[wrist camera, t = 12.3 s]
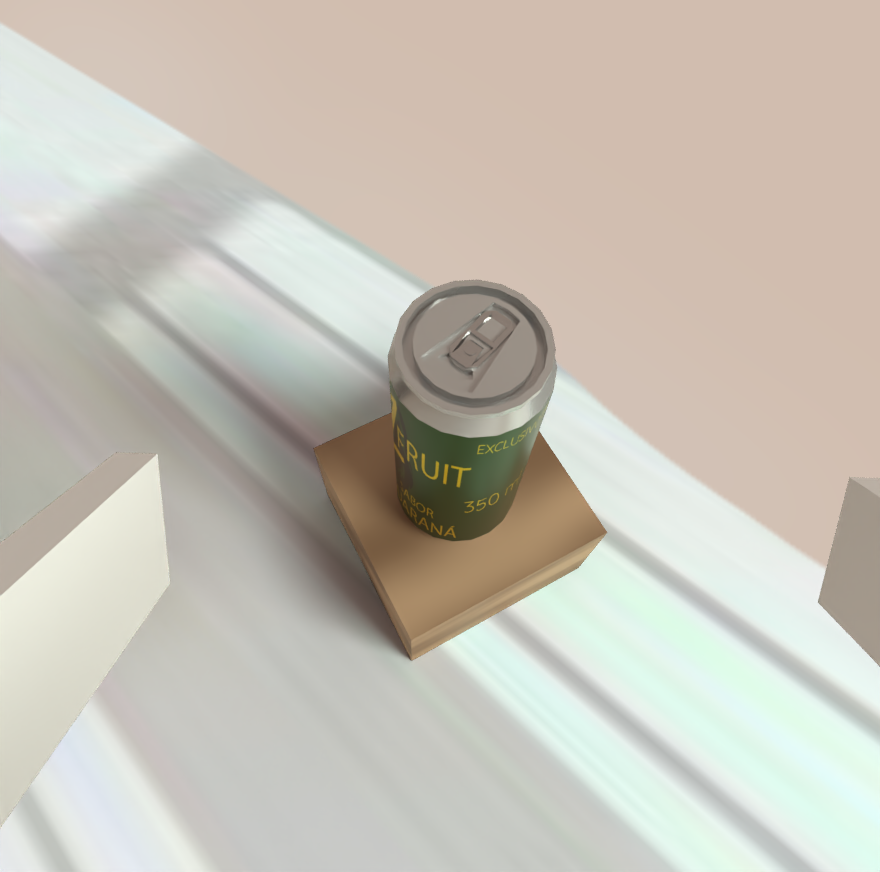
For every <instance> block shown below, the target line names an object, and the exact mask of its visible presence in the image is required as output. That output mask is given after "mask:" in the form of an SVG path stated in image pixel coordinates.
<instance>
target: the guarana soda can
mask: <svg viewBox="0 0 880 872" xmlns="http://www.w3.org/2000/svg"><path fill="white" fill-rule="evenodd" d="M555 351H556V349H555V344H554V339H553V334H552V329H551V327H550V325H549V324H548V322H547V320H546V319H545V317H544V315H543V314H542V312H541V310H539V308H537V307H536V306H535V305H534V304H533V303H532V302H531V301H530V300H528V299H527V298H526V297H525V296H524V295H523V294H520V293H518V292H516V291H514V290H512V289H510V288H508V287H506V286H504V285H501V284H497V283H492V282H487V281H482V280H465V281H453V282H450V283H447V284H444V285H441V286H438V287H435V288H432V289H430V290H429V291H427V292H426V293H424V294H423V295H421V296H420V297H419V298H417V299H416V300H414V301H413V302H412V303H411V305H410V306H409V307H408V309H407V310H406V311H405V313H404V314H403V315H402V317H401V318H400V321H399V324H398V327H397V331H396V333H395V334H394V337H393V341H392V344H391V347H390V351H389V354H388V365H389V380H390V394H391V409H392V423H393V438H394V452H395V466H396V481H397V495H398V499H399V502H400V504H401V506H402V509H403V511H404V513H405V515H406V516H407V517H408V518H409V519H410V520H411V521H412V522H413V524H414V525H415V526H416V527H417V528H419V529H420V530H422V531H424V532H426V533H427V534H429V535H431V536H432V537H435V538H439V539H444V540H448V541H464V540H473V539H475V538H477V537H480V536H482V535H485V534H487V533H489V532H491V531H492V530H493V529H494V528H495V527H496V526H497V525H499V524H500V523H501V522H502V521H503V520H504V518H505V516H506V515H507V513H508V511H509V510H510V508H511V506H512V504H513V501H514V498H515V495H516V493H517V490H518V487H519V484H520V481H521V479H522V476H523V473H524V470H525V468H526V465H527V462H528V459H529V456H530V454H531V451H532V448H533V445H534V442H535V440H536V437H537V434H538V431H539V429H540V426H541V423H542V420H543V417H544V415H545V412H546V409H547V406H548V403H549V401H550V398H551V395H552V392H553V389H554V383H555V377H556V371H557V365H556V360H555Z"/></svg>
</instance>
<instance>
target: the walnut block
mask: <svg viewBox="0 0 880 872" xmlns="http://www.w3.org/2000/svg"><path fill="white" fill-rule="evenodd" d="M313 449H314V452H315V455H316V458H317V462H318V465H319V468H320V471H321V474H322V478H323V481H324V484H325V487H326V490H327V494H328V496H329V498H330V500H331V502H332V504H333V506H334V508H335V510H336V512H337V514H338V516H339V518H340V520H341V522H342V524H343V526H344V528H345V530H346V532H347V534H348V536H349V538H350V539H351V541H352V543H353V545H354V547H355V549H356V551H357V553H358V555H359V557H360V559H361V561H362V563H363V565H364V567H365V569H366V571H367V573H368V575H369V577H370V579H371V581H372V583H373V585H374V587H375V589H376V591H377V593H378V595H379V597H380V599H381V601H382V603H383V605H384V607H385V609H386V611H387V613H388V615H389V617H390V619H391V621H392V623H393V625H394V627H395V629H396V631H397V633H398V635H399V637H400V639H401V641H402V643H403V645H404V647H405V649H406V651H407V653H408V655H409V657H410V659H411V660H414V659H416V658H418V657H419V656H421V655H423V654H425V653H427V652H428V651H430V650H432V649H434V648H436V647H437V646H439V645H441V644H443V643H445V642H446V641H448V640H450V639H452V638H454V637H455V636H457V635H459V634H461V633H462V632H464V631H466V630H468V629H470V628H471V627H473V626H475V625H477V624H479V623H480V622H482V621H484V620H486V619H488V618H489V617H491V616H493V615H495V614H497V613H498V612H500V611H502V610H504V609H505V608H507V607H509V606H511V605H513V604H514V603H516V602H518V601H520V600H522V599H523V598H525V597H527V596H529V595H531V594H532V593H534V592H536V591H538V590H540V589H541V588H543V587H545V586H547V585H548V584H550V583H552V582H554V581H556V580H557V579H559V578H561V577H563V576H565V575H566V574H568V573H570V572H572V571H574V570H575V569H577V568H579V566H580V565H581V564H582V563H583V562H584V560H585V559H586V558H587V557H588V555H589V554H590V553H591V552H592V551H593V549H594V548H595V547H596V546H597V544H598V543H599V542H600V541H601V539H602V538H603V537H604V536H605V535H606V533H607V531H606V530H605V528H604V527H603V525H602V524H601V522H600V521H599V519H598V518H597V517H596V515H595V514H594V512H593V511H592V509H591V508H590V506H589V505H588V503H587V502H586V500H585V499H584V497H583V496H582V494H581V493H580V491H579V490H578V488H577V487H576V485H575V484H574V482H573V481H572V479H571V478H570V476H569V475H568V473H567V472H566V470H565V469H564V467H563V466H562V464H561V463H560V461H559V460H558V458H557V457H556V456H555V454H554V453H553V451H552V450H551V448H550V447H549V445H548V444H547V442H546V441H545V439H544V438H543V436H542V435H541V433H540V432H539V431H538V434H537V437H536V440H535V442H534V445H533V448H532V451H531V454H530V456H529V459H528V462H527V465H526V468H525V470H524V473H523V476H522V479H521V481H520V484H519V487H518V490H517V493H516V495H515V498H514V501H513V504H512V506H511V508H510V510H509V511H508V513H507V515H506V516H505V518H504V520H503V521H502V522H501V523H500V524H499V525H497V526H496V527H495V528H494V529H493V530H492V531H491V532H489V533H487V534H485V535H482V536H480V537H477V538H475V539H473V540H464V541H448V540H444V539H439V538H435V537H432V536H431V535H429V534H427V533H426V532H424V531H422V530H420V529H419V528H417V527H416V526H415V525H414V524H413V522H412V521H411V520H410V519H409V518H408V517H407V516H406V515H405V513H404V511H403V509H402V506H401V504H400V502H399V499H398V495H397V481H396V466H395V452H394V438H393V423H392V413H390V414H387V415H385V416H383V417H381V418H379V419H376V420H374V421H372V422H370V423H368V424H365V425H363V426H361V427H359V428H357V429H354V430H352V431H350V432H348V433H346V434H344V435H341V436H339V437H337V438H335V439H333V440H330V441H328V442H326V443H324V444H322V445H319V446H317V447H315V448H313Z"/></svg>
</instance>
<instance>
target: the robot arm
mask: <svg viewBox="0 0 880 872" xmlns="http://www.w3.org/2000/svg"><path fill="white" fill-rule="evenodd" d="M169 584H170V575H169V565H168V555H167V545H166V535H165V526H164V516H163V506H162V496H161V486H160V476H159V466H158V456H157V454H147V453H117V452H116V453H115V454H113V455H112V456H111V457H109V458H108V459H107V460H106V461H104V462H103V463H102V464H101V465H99V466H98V467H97V468H95V469H94V470H93V471H92V472H90V473H89V474H88V475H87V476H85V477H84V478H83V479H81V480H80V481H79V482H78V483H76V484H75V485H74V486H72V487H71V488H70V489H69V490H67V491H66V492H65V493H64V494H62V495H61V496H60V497H58V498H57V499H56V500H55V501H53V502H52V503H51V504H50V505H48V506H47V507H46V508H44V509H43V510H42V511H41V512H39V513H38V514H37V515H35V516H34V517H33V518H32V519H30V520H29V521H28V522H27V523H25V524H24V525H23V526H21V527H20V528H19V529H18V530H16V531H15V532H14V533H13V534H11V535H10V536H9V537H7V538H6V539H5V540H4V541H2V542H1V543H0V828H1V827H2V825H3V824H4V822H5V821H6V819H7V818H8V816H9V815H10V814H11V812H12V811H13V809H14V808H15V806H16V805H17V803H18V802H19V801H20V799H21V798H22V796H23V795H24V793H25V792H26V790H27V789H28V788H29V786H30V785H31V783H32V782H33V780H34V779H35V777H36V776H37V775H38V773H39V772H40V770H41V769H42V767H43V766H44V764H45V763H46V762H47V760H48V759H49V757H50V756H51V754H52V753H53V752H54V750H55V749H56V747H57V746H58V744H59V743H60V741H61V740H62V739H63V737H64V736H65V734H66V733H67V731H68V730H69V728H70V727H71V726H72V724H73V723H74V721H75V720H76V718H77V717H78V715H79V714H80V713H81V711H82V710H83V708H84V707H85V705H86V704H87V702H88V701H89V700H90V698H91V697H92V695H93V694H94V692H95V691H96V689H97V688H98V687H99V685H100V684H101V682H102V681H103V679H104V678H105V676H106V675H107V674H108V672H109V671H110V669H111V668H112V666H113V665H114V664H115V662H116V661H117V659H118V658H119V656H120V655H121V653H122V652H123V651H124V649H125V648H126V646H127V645H128V643H129V642H130V640H131V639H132V638H133V636H134V635H135V633H136V632H137V630H138V629H139V627H140V626H141V625H142V623H143V622H144V620H145V619H146V617H147V616H148V614H149V613H150V612H151V610H152V609H153V607H154V606H155V604H156V603H157V601H158V600H159V599H160V597H161V596H162V594H163V593H164V591H165V590H166V588H167V587H168V586H169ZM818 603H819V604H820V605H821V606H822V607H823V608H824V609H825V610H826V611H827V612H828V613H829V614H830V615H831V616H832V617H833V618H834V620H835V621H836V622H837V623H838V624H839V625H840V626H841V627H842V628H843V629H844V630H845V631H846V632H847V633H848V634H849V635H850V636H851V637H852V638H853V639H854V640H855V641H856V642H857V643H858V644H859V645H860V646H861V647H862V649H863V650H864V651H865V652H866V653H867V654H868V655H869V656H870V657H871V658H872V659H873V660H874V661H875V662H876V663H877V664H878V665H879V666H880V478H855V477H854V478H853V477H850V478H849V481H848V486H847V489H846V493H845V497H844V501H843V505H842V509H841V513H840V517H839V521H838V525H837V529H836V533H835V537H834V541H833V544H832V549H831V553H830V556H829V560H828V564H827V568H826V572H825V576H824V580H823V584H822V588H821V592H820V596H819V600H818Z"/></svg>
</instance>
